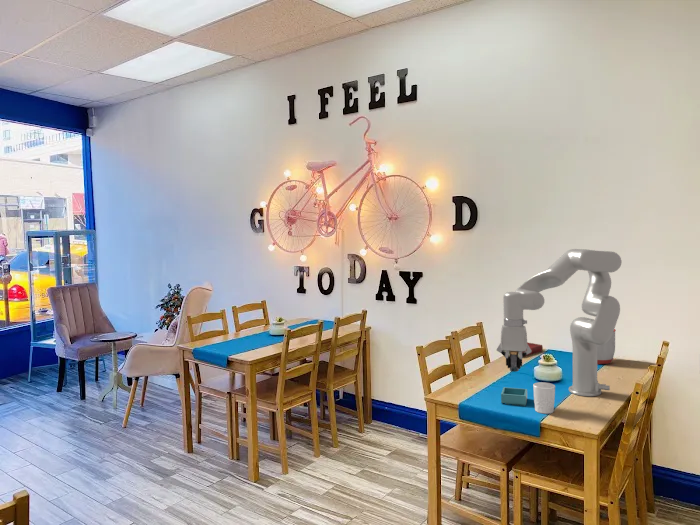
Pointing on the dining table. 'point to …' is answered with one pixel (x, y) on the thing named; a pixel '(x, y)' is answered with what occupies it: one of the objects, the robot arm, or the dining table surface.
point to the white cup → (544, 397)
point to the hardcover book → (534, 348)
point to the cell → (513, 360)
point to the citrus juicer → (606, 351)
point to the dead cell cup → (514, 396)
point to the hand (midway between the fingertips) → (514, 367)
